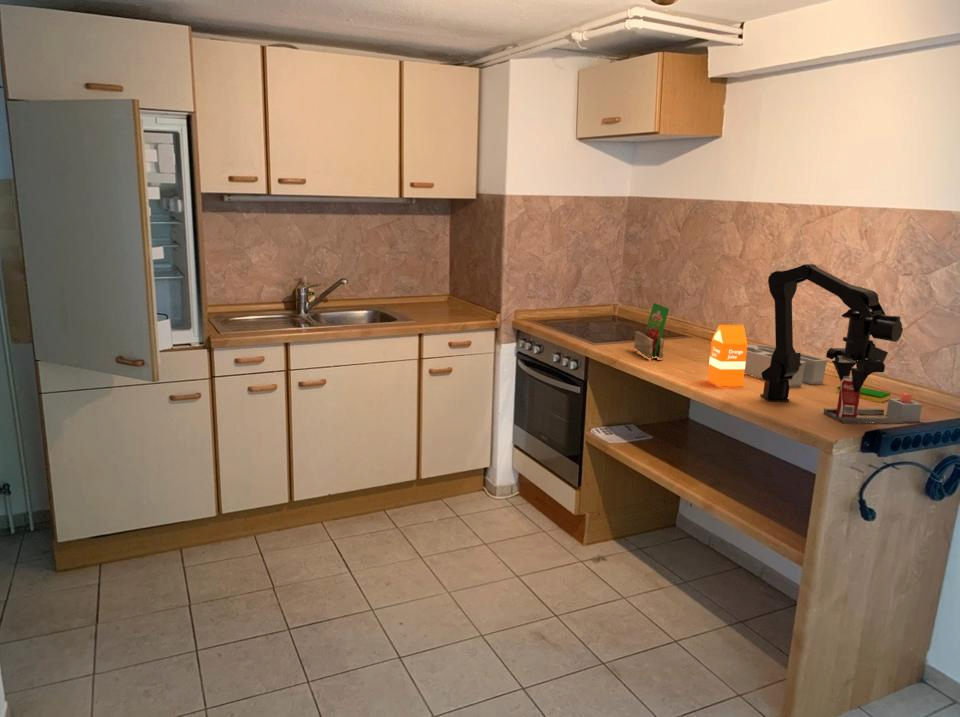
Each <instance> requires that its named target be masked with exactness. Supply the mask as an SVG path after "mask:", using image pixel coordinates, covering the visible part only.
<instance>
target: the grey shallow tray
mask: <svg viewBox="0 0 960 717" xmlns="http://www.w3.org/2000/svg"><path fill="white" fill-rule="evenodd" d="M836 413H837V408H823V414H824V415H826V416H827V415H828V416H827V417H829V416H830V418H831V417H832V418H831V419H833V418H834V419H833V420H835V419H836V420H835V421H837V420H838V421H837V422H840V423H841V422H842V423H841V424H903V423H904V421H903V418H901V417H889V416H857V417H839V416H837V415H835V414H836ZM857 414H885V409H884V408H858V411H857ZM866 422H867V423H866ZM870 422H871V423H870ZM872 422H874V423H872ZM877 422H878V423H877ZM881 422H882V423H881Z"/></svg>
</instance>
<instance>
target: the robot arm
mask: <svg viewBox="0 0 960 717" xmlns="http://www.w3.org/2000/svg"><path fill="white" fill-rule="evenodd" d="M807 280H808V281H809V282H811V283H812V284H815V285H816V286H819V287H820V288H822V289H824V290H825V291H828V292H830V293H831V294H833V295H835V296H837V297H838V299H839V298H840V300H841V301H842V303H843V304H844V305H845V306H846V307H848V308H849V309H848V310H847V311H845V312H844V313H842V314H841V317H842V318H845V319H848V326H847V332H846V336H842V337H843V338H842V341H843V342H845V345H844V346H845V347H843V348H842V347H840V348H839V347H834V348H833V347H830V348H828V350H827V351H826V355H825V358H827V359H828V360H829V359H830V360H831V363H833V366H834V368H835V371H836V373H837V375H838V377H839V378H838V379H839V381H840V382H841V380H842V379H843V376H852V381H853V389H854V392H859V390H860V388H861V387H863V385H864V383H865V381H866V380H867V378H868V377H869V375H872V374H875V373H885V369H886V364H885V363H884V362H885V361H886V358H887V356H888V354H889V351H886V350H884V349H882V348H879V347H876V344H875V343H874V341H873V340H872V339H870V338H873V339H878V340H882V341H888V342H894V343H897V342H898V341H899V340H900V338H901V337H902V336H903V335H902V334H903V332H904V331H903V329H904V328H903V323H902V321H901V316H898V315H887V314H886V312H885V310H884V308H883V307H882V305H881V303H880V300H879V294H878V293H877V292H876V291H874V290H871V289H869V288H865V287H862V286H857V285H853V284H850V283H848V282H846V281H844V280H842V279H841V278H839V277H836V276H834V274H831V273H830V272H827V271H825V270H824V269H822V268H820V267H819V266H817V265H816V264H813V263H808V264H807V263H806V264H802V265H800V266H797V267H793V268H790V269H786V270H776V271H773V272H771V274H770V275H769V276H768V279H767V283H768V289H769V292H770V295H771V297H772V298H773V301H774V328H775V329H774V330H775V337H774V338H775V347H776V348H775V350H774V353H773V355H772V357H771V363H770V367H769V368H767V369H766V370H764V371H763V372H762V373H761V374H762V379H763V381H764V384H763V385H764V386H763V392H762V393H761V394H760V395H759V396H760V397H762V398H764V400H767V401H769V402H790V399H789V394H790V393H789V392H790V385H789V379H790V380H791V379H792V378H793V376H794V374H796V373H797V372H798V371H799V366H801V363H800V357H801V354H800V353H801V352H798V353H796V352H797V351H796V350H795V349H794V344H793V342H794V340H793V336H794V335H793V334H794V333H793V331H794V330H793V298H794V297H795V295H796V292H797V288H798V284H799V283H802V282H806V281H807ZM854 366H855V368H854ZM762 379H761V380H762Z"/></svg>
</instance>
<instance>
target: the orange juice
mask: <svg viewBox="0 0 960 717" xmlns="http://www.w3.org/2000/svg"><path fill="white" fill-rule="evenodd" d="M710 344H711V345H710V355H709V360H708V362H709V363H708V365H709V366H708V373H707V381H708V380H709V381H710V382H712V383H714V384H716V385H717V386H743V385H744V379H745V378H744V377H745V374H744V370H745V363H746V353H747V345H749V344H748V340H747V336H746V331H745V327H744V324H718V327H717V329H716V330H715V332H714V335H713V337H712V338H711V343H710ZM710 382H709V383H710ZM717 386H716V387H717Z"/></svg>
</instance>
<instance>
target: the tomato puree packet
mask: <svg viewBox="0 0 960 717" xmlns="http://www.w3.org/2000/svg"><path fill="white" fill-rule="evenodd" d="M669 311H670V308H669V307H666V306H662V305H661V304H658V303H656V302H653V303H652V307H651V310H650V314H649V318H648V321H647V325H646V328H645V331H644V333H643V334H644V335H646V336H647V337H649V338H651V339H653V349H652V356H653V357H655V356H656V353H657V349H658V346H659V343H660V339H662V336H663V333H664V332H663V331H664V330H665V325H666V322H667V317H668V314H669Z"/></svg>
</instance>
